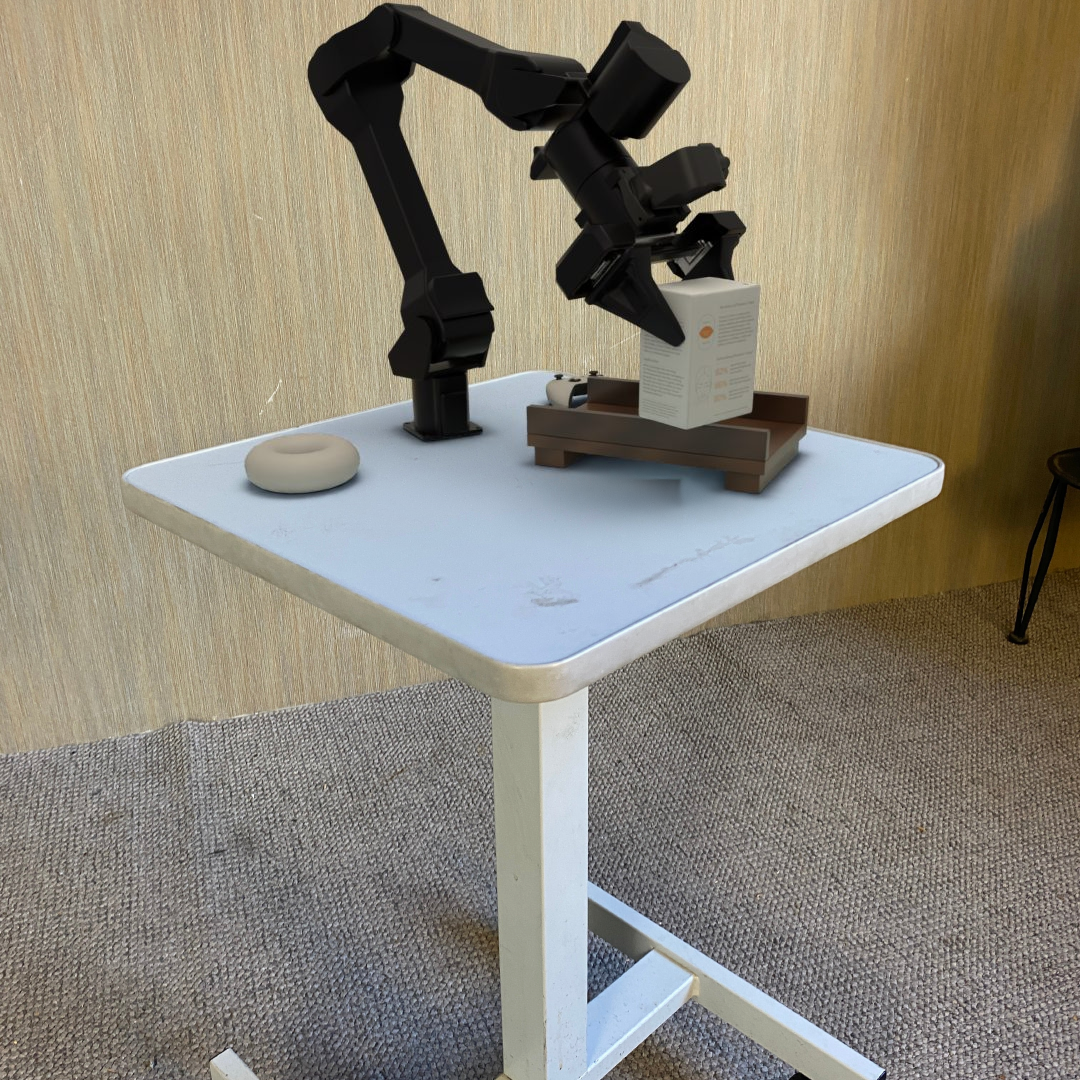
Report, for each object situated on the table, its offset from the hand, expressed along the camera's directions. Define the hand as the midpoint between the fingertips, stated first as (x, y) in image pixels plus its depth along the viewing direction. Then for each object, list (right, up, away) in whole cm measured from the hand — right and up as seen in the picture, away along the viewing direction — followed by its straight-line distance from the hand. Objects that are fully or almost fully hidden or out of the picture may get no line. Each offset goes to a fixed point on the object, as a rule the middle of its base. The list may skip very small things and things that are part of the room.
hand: (712, 335), depth 82 cm
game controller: (-9, -1, +35) cm, 36 cm away
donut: (-34, -11, +11) cm, 38 cm away
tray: (-2, -9, +15) cm, 17 cm away
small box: (-1, -6, +3) cm, 7 cm away
